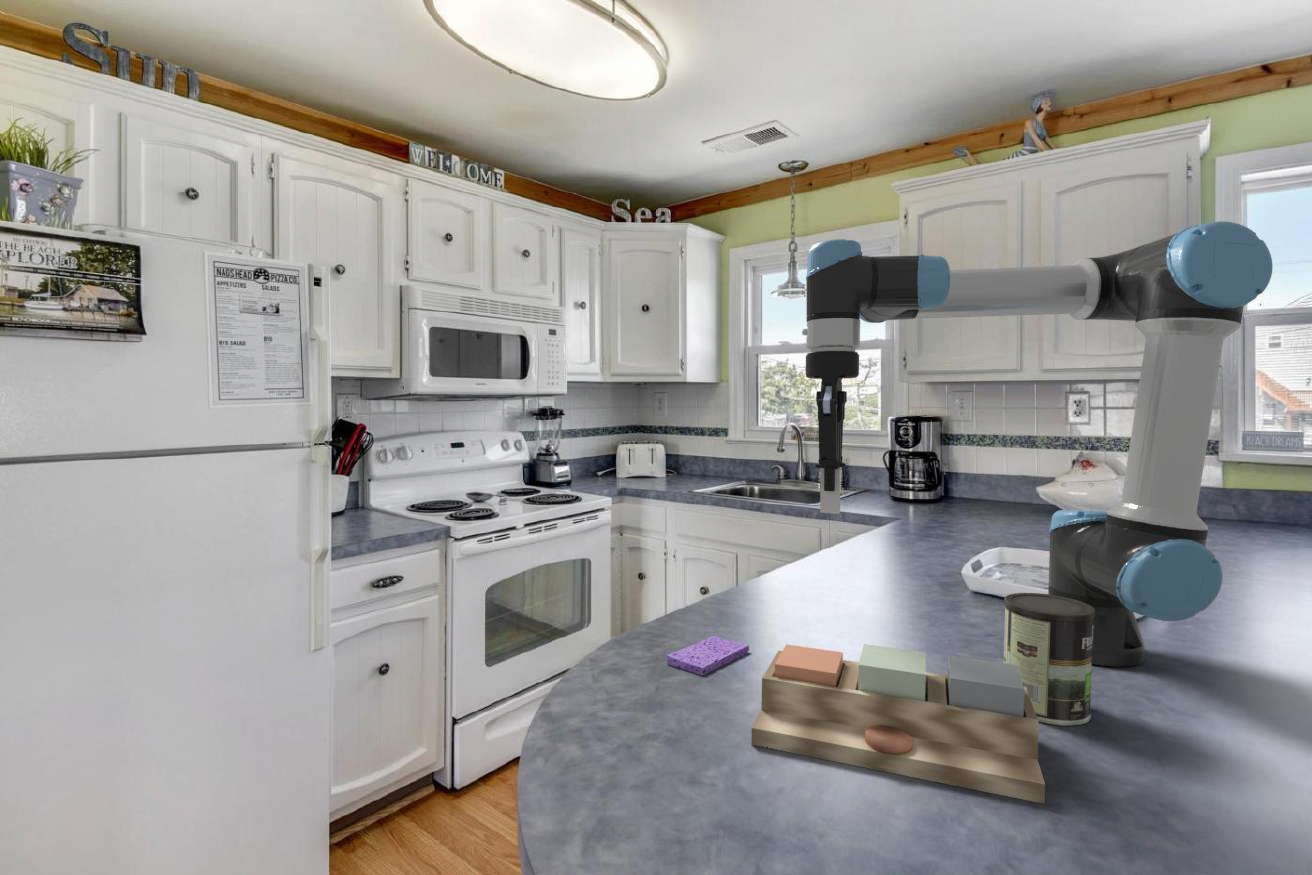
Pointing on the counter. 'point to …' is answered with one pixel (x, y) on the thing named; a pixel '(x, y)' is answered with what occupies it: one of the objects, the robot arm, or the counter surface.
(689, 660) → the sponges
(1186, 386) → the robot arm
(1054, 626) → the coffee can
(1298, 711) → the counter surface
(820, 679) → the terracotta key
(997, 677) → the grey key
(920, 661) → the sage key
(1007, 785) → the key panel
